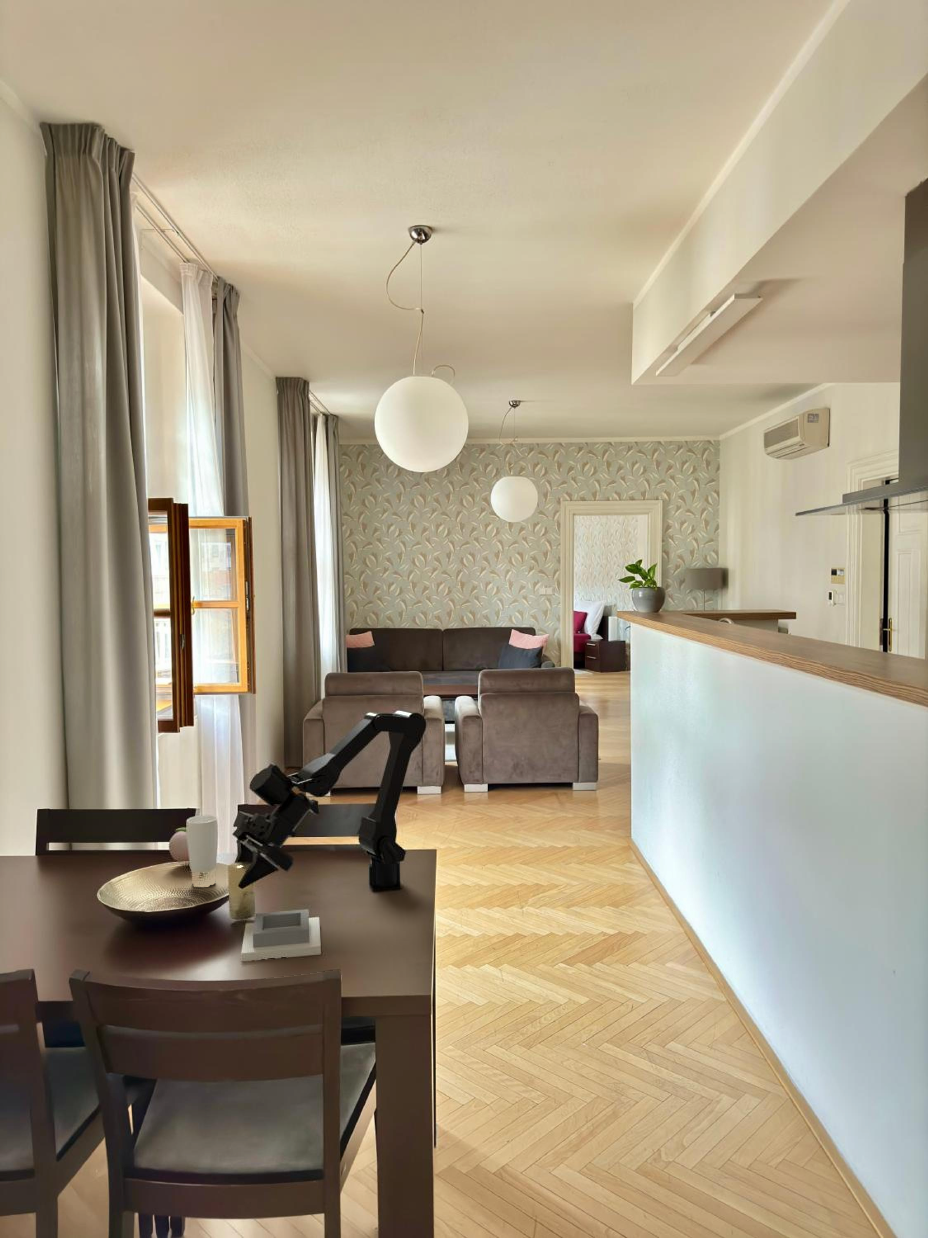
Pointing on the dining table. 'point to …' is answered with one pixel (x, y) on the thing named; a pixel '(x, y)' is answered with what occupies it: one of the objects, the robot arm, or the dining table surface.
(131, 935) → the dining table surface
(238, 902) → the cylinder
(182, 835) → the decorative fruit
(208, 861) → the drinking glass
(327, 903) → the dining table surface
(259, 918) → the jig plate
